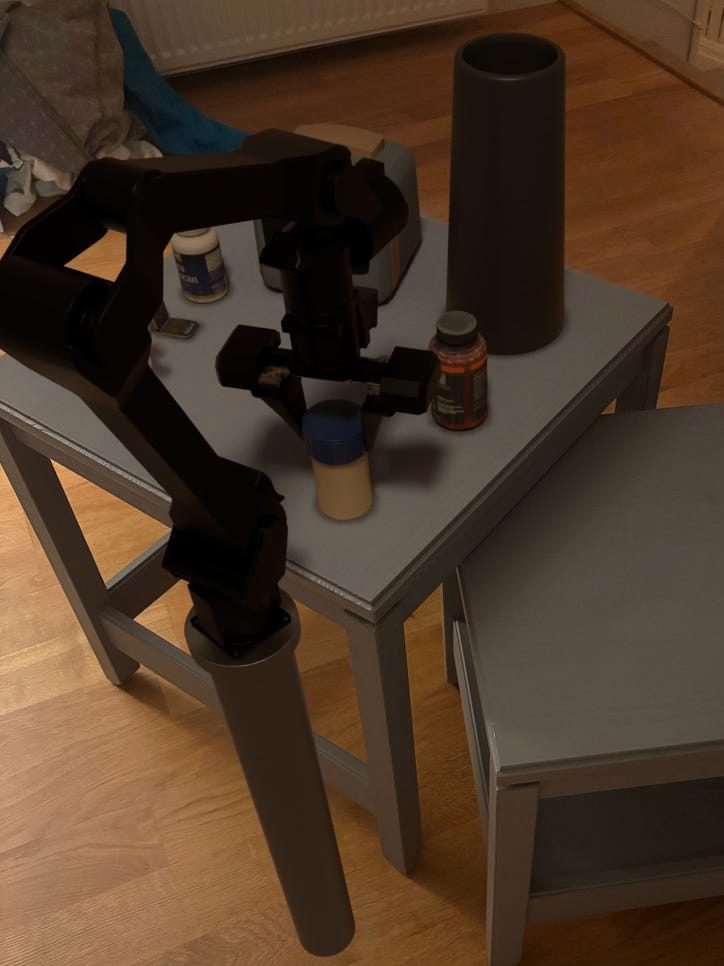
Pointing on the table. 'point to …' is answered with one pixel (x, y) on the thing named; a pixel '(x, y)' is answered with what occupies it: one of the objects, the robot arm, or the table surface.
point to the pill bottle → (200, 265)
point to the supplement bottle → (460, 372)
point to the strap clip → (171, 324)
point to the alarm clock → (397, 167)
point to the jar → (343, 488)
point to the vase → (508, 190)
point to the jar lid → (333, 432)
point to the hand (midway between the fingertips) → (339, 444)
